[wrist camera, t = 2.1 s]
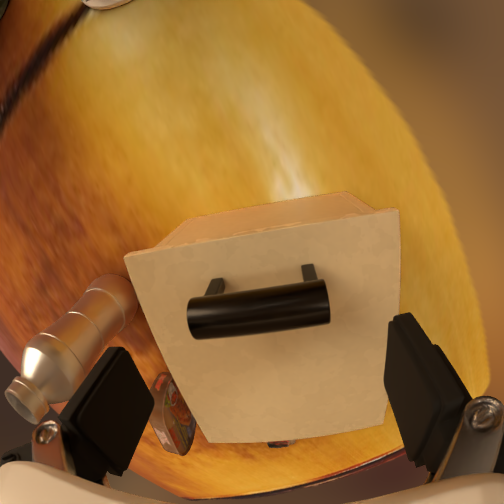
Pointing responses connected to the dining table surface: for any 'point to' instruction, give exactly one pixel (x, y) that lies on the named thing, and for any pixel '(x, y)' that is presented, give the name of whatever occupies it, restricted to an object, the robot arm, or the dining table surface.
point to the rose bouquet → (2, 6)
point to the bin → (266, 216)
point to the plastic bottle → (71, 347)
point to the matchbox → (280, 443)
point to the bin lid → (277, 324)
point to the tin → (171, 416)
